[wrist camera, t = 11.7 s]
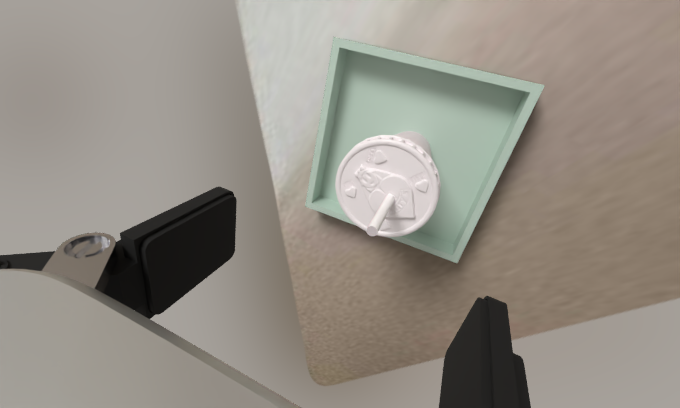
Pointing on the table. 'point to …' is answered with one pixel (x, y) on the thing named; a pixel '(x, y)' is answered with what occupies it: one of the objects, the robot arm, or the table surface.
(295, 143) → the table surface
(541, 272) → the table surface
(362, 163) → the smoothie
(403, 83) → the tray
